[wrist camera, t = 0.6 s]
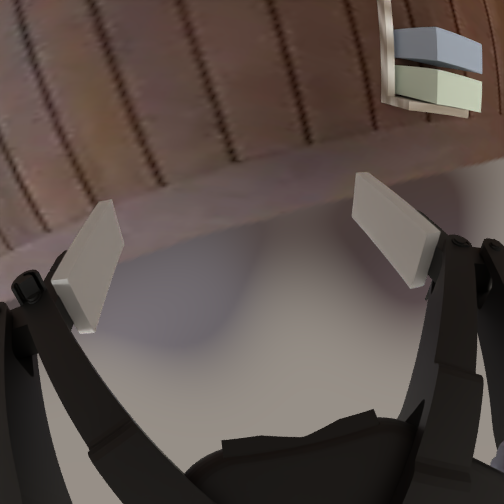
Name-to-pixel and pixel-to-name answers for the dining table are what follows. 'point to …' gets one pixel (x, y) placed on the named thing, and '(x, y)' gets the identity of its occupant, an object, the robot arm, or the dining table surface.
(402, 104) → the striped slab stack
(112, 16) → the dining table surface
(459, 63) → the book slate
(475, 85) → the book sage
